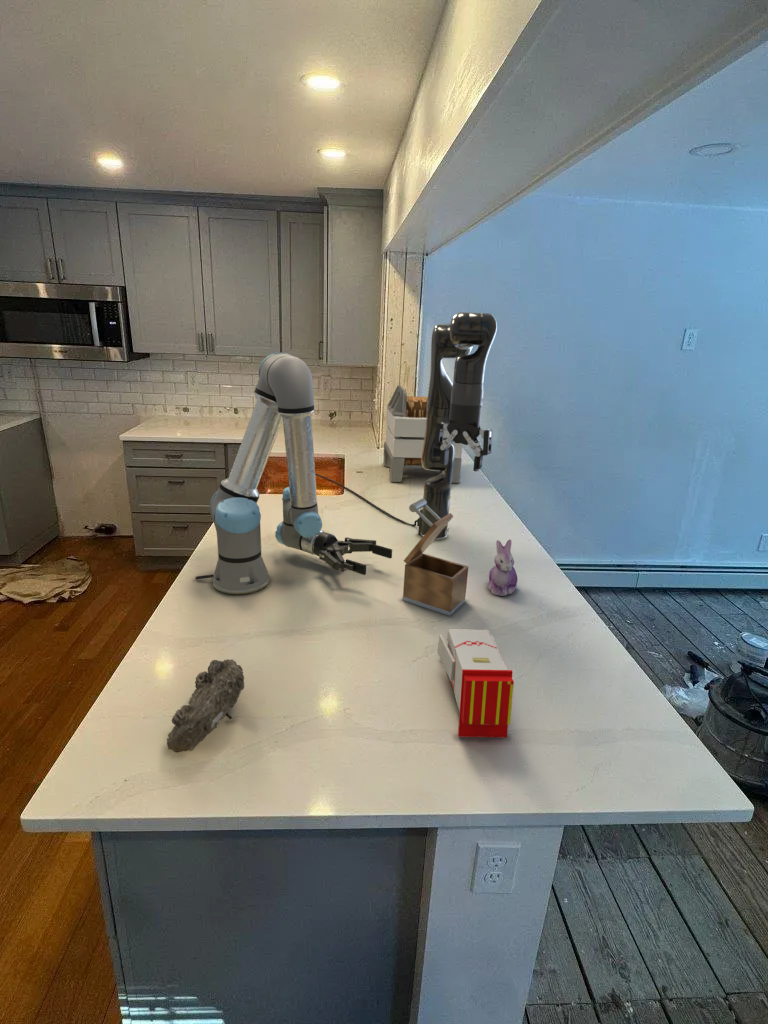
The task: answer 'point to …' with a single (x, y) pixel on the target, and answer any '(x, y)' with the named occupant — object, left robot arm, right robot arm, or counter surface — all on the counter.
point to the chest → (435, 583)
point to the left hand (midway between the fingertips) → (379, 561)
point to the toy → (478, 682)
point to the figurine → (503, 571)
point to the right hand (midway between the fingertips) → (460, 467)
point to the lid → (431, 533)
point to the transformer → (410, 435)
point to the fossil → (206, 705)
